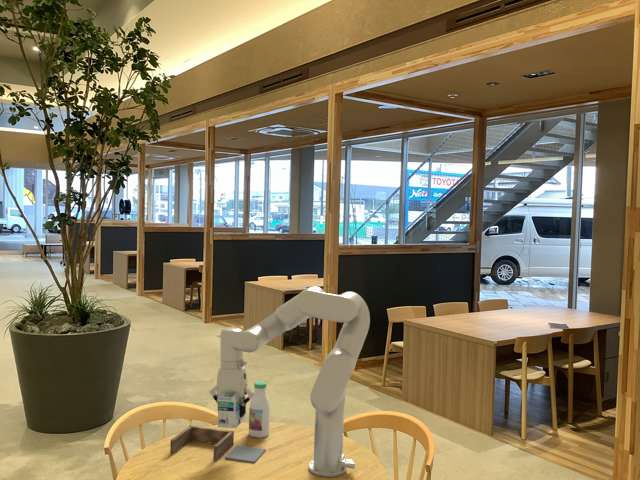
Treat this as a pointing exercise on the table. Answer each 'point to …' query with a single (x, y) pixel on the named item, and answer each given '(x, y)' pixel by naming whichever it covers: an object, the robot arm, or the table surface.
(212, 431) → the cubby
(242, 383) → the robot arm
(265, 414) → the milk bottle
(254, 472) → the table surface
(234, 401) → the light bulb box
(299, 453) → the table surface
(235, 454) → the pad
